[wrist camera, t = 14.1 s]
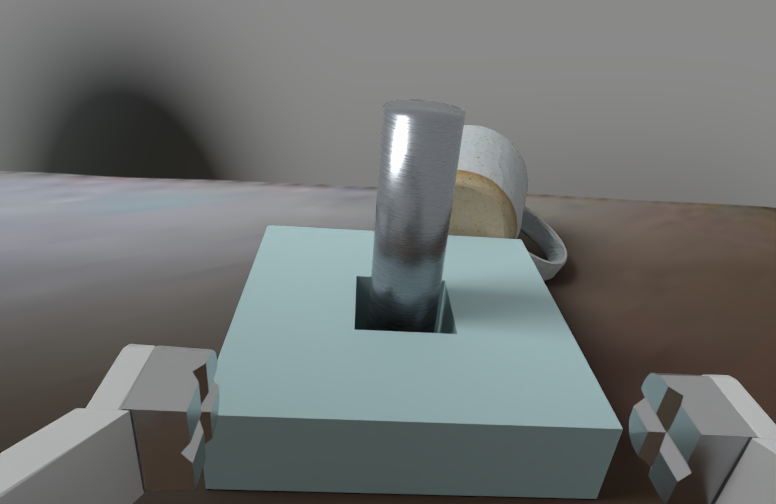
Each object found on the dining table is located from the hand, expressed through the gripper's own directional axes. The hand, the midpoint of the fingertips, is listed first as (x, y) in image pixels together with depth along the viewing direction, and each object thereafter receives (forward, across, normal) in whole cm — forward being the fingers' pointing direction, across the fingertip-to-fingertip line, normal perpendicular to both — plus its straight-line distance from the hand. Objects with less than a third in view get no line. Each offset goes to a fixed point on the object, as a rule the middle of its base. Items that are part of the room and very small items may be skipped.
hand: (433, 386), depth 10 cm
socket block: (+12, -1, +10) cm, 16 cm away
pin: (+12, -1, +10) cm, 16 cm away
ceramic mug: (+24, -7, +10) cm, 27 cm away
